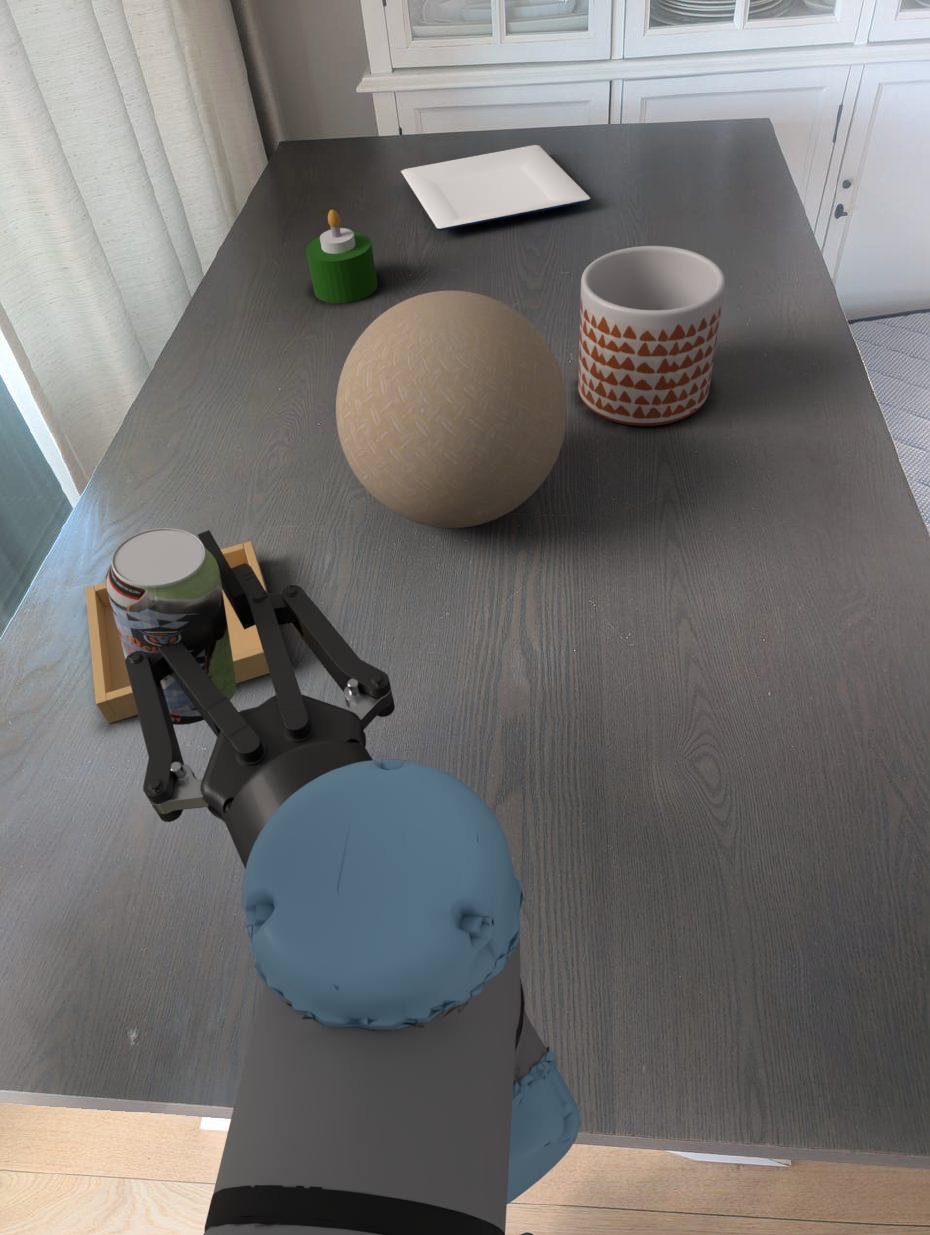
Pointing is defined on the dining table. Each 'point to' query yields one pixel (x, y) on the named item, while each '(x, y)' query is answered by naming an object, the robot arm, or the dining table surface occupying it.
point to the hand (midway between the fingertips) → (181, 560)
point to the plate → (492, 187)
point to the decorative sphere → (451, 409)
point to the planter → (648, 334)
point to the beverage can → (172, 608)
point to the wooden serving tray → (109, 653)
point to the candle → (341, 264)
